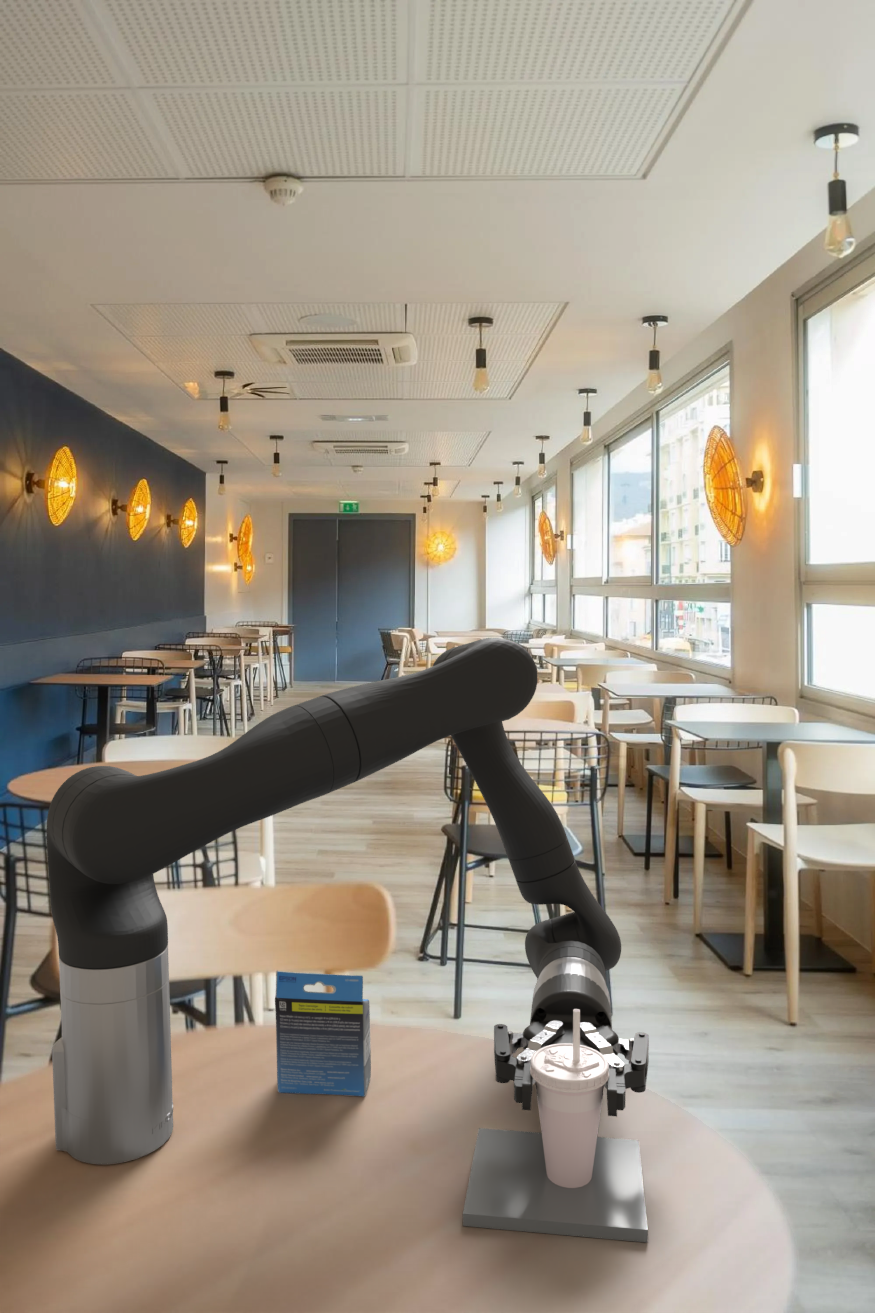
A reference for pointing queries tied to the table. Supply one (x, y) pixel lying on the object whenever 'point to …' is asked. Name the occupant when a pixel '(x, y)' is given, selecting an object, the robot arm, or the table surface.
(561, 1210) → the metal board
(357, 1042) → the label tape box
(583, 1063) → the smoothie
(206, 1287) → the table surface
